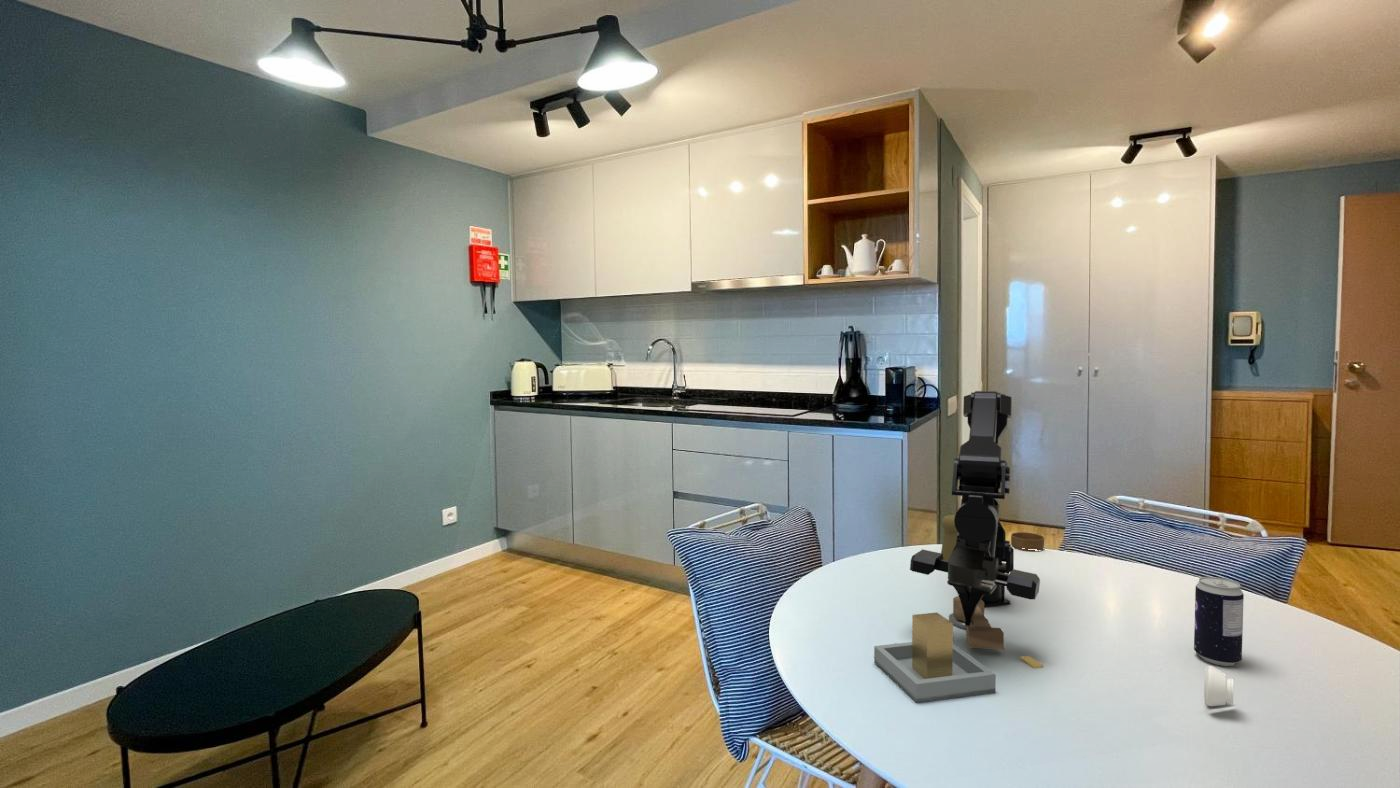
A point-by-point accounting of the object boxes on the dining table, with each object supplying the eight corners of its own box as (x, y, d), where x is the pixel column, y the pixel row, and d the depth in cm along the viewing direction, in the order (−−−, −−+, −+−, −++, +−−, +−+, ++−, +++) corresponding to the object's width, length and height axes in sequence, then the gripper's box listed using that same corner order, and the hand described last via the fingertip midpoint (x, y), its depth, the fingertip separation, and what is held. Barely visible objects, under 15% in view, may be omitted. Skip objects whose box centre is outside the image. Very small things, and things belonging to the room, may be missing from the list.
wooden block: (936, 665, 96) (937, 612, 96) (952, 678, 92) (952, 623, 92) (912, 668, 95) (912, 614, 95) (926, 681, 91) (927, 625, 91)
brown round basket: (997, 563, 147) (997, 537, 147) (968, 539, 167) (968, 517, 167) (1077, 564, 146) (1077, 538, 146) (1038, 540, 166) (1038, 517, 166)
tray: (945, 654, 101) (945, 638, 101) (995, 692, 89) (995, 674, 89) (874, 662, 98) (874, 646, 98) (916, 703, 87) (916, 684, 87)
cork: (963, 560, 148) (964, 513, 148) (971, 568, 142) (972, 519, 142) (936, 559, 149) (936, 512, 149) (943, 568, 143) (944, 519, 143)
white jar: (1204, 695, 88) (1205, 659, 88) (1232, 702, 86) (1233, 665, 86) (1203, 710, 84) (1204, 673, 84) (1232, 718, 82) (1233, 680, 82)
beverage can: (1231, 654, 100) (1233, 577, 99) (1248, 670, 95) (1251, 590, 94) (1187, 649, 102) (1189, 574, 101) (1202, 665, 97) (1204, 586, 96)
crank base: (973, 614, 117) (973, 610, 117) (1057, 665, 97) (1057, 660, 97) (941, 617, 115) (941, 613, 115) (1019, 669, 96) (1019, 665, 96)
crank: (950, 610, 116) (950, 595, 116) (980, 612, 115) (980, 596, 115) (969, 647, 101) (969, 630, 101) (1003, 650, 100) (1003, 632, 100)
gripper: (904, 525, 103) (895, 622, 103) (1035, 551, 92) (1024, 659, 93) (923, 516, 112) (915, 605, 112) (1044, 539, 102) (1034, 637, 102)
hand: (967, 625), depth 105 cm, fingers closed, pressing on crank
